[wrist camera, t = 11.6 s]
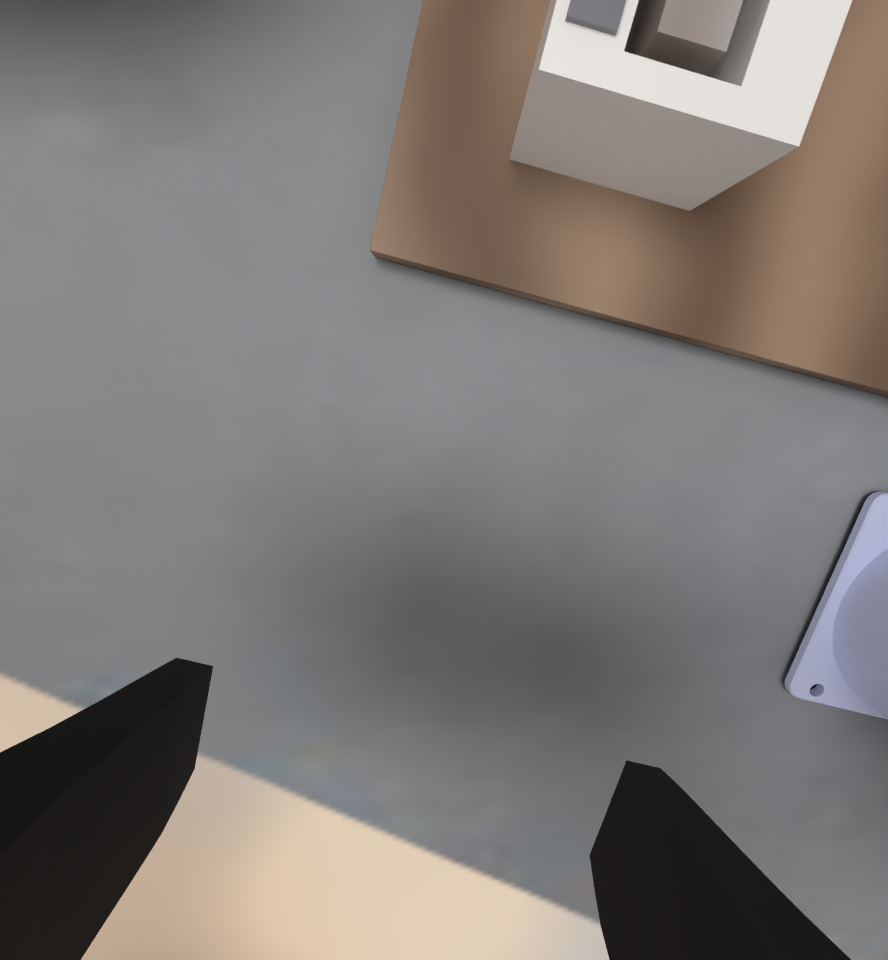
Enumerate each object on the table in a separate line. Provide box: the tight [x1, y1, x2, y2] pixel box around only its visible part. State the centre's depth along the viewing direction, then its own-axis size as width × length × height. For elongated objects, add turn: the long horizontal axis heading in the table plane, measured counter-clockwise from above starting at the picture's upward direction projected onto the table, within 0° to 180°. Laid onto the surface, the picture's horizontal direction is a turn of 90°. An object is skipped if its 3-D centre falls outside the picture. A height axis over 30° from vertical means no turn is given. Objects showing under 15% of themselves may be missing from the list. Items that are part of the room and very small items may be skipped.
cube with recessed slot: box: [510, 0, 852, 211], centre depth 12 cm, size 5×5×5 cm
